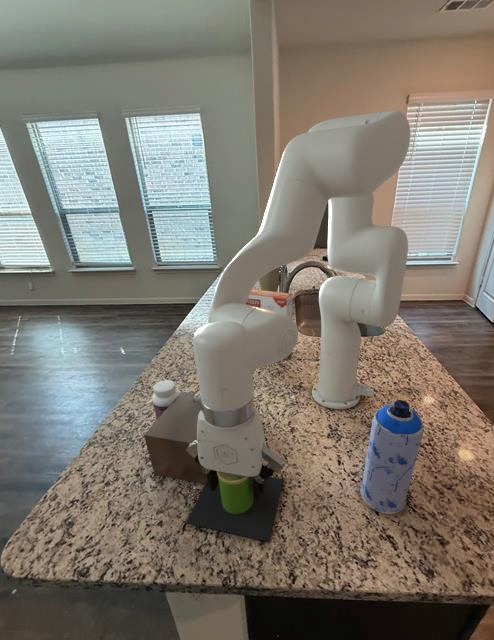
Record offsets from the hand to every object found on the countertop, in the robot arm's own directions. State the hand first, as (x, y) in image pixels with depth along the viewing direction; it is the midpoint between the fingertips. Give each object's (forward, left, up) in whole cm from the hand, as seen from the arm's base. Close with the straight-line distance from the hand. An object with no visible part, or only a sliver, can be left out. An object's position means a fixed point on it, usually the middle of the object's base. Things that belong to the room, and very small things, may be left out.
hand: (236, 487), depth 54 cm
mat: (0, 0, -3) cm, 3 cm away
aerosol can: (-25, -7, -4) cm, 26 cm away
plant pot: (+25, -124, -4) cm, 126 cm away
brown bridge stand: (+12, -9, -3) cm, 15 cm away
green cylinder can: (0, 0, -3) cm, 3 cm away
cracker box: (+8, -56, -4) cm, 57 cm away
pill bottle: (+22, -16, -4) cm, 27 cm away
